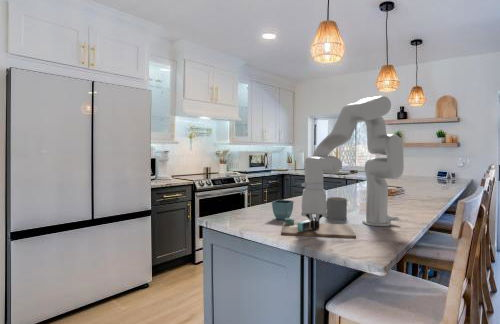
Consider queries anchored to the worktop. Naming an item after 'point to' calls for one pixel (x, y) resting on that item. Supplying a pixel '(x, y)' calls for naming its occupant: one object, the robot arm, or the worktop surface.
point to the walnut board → (318, 230)
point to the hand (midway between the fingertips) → (314, 229)
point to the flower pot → (282, 209)
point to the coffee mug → (337, 208)
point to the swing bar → (304, 225)
